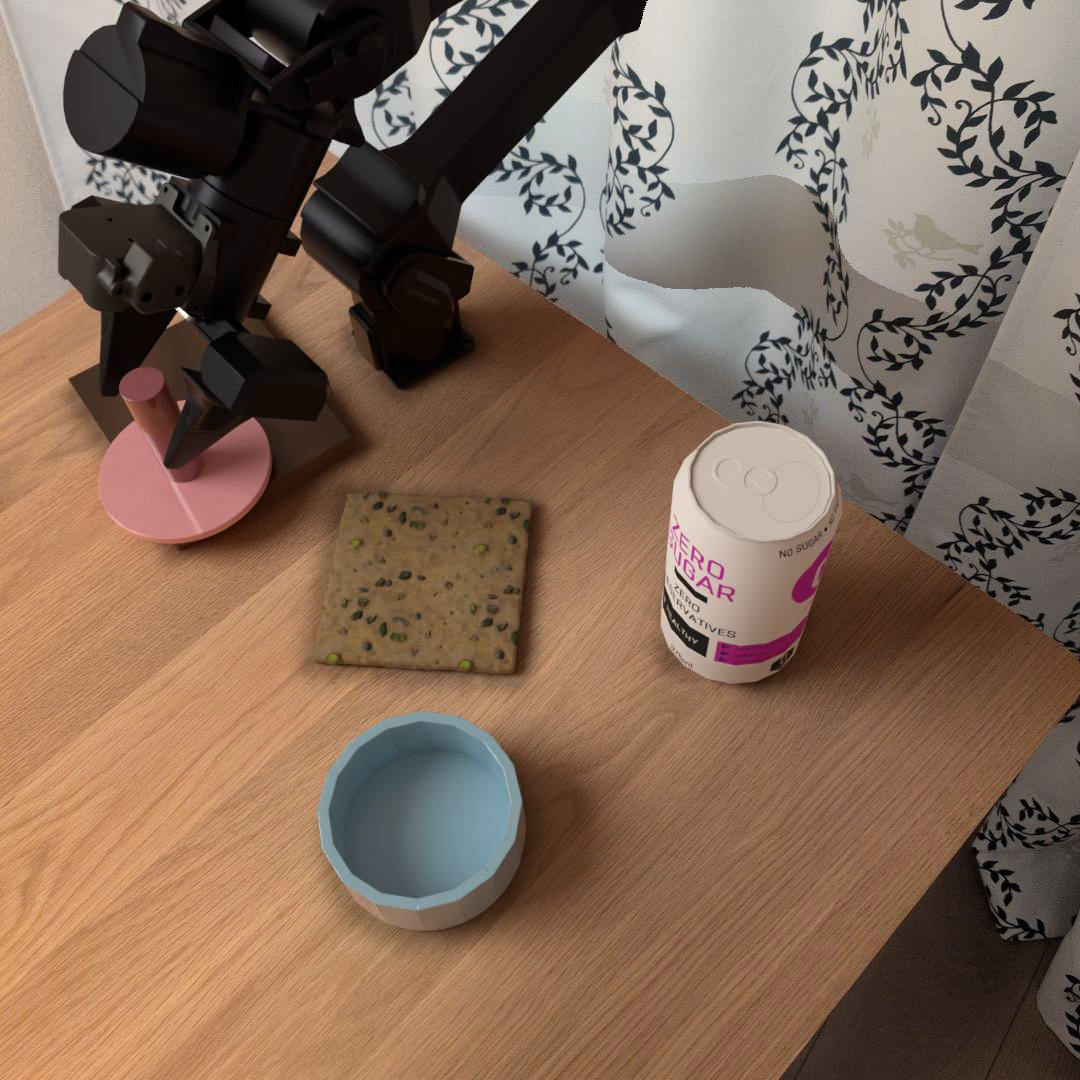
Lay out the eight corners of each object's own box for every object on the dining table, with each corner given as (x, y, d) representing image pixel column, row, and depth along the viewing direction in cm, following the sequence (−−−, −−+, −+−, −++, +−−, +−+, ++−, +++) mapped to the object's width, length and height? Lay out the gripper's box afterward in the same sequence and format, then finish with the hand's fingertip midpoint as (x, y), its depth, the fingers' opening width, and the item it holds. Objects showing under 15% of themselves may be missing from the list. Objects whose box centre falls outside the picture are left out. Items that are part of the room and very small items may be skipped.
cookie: (345, 494, 73) (342, 486, 73) (534, 503, 73) (533, 495, 72) (310, 664, 67) (306, 657, 66) (516, 676, 66) (515, 669, 65)
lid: (301, 429, 75) (267, 333, 67) (230, 567, 69) (184, 480, 62) (153, 395, 77) (103, 297, 69) (73, 526, 71) (9, 436, 64)
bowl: (457, 710, 65) (448, 676, 62) (563, 853, 61) (561, 826, 57) (301, 814, 63) (282, 785, 59) (400, 972, 58) (386, 952, 54)
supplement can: (818, 593, 69) (869, 442, 56) (773, 710, 65) (816, 577, 52) (690, 546, 71) (710, 391, 58) (638, 658, 67) (649, 517, 54)
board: (242, 306, 83) (237, 291, 81) (356, 449, 76) (352, 435, 74) (75, 392, 79) (67, 378, 78) (178, 551, 72) (171, 538, 71)
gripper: (23, 68, 59) (-70, 328, 65) (223, 257, 51) (97, 533, 57) (198, 125, 68) (103, 348, 74) (390, 292, 60) (267, 527, 66)
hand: (138, 430), depth 67 cm, fingers open, 7 cm apart
